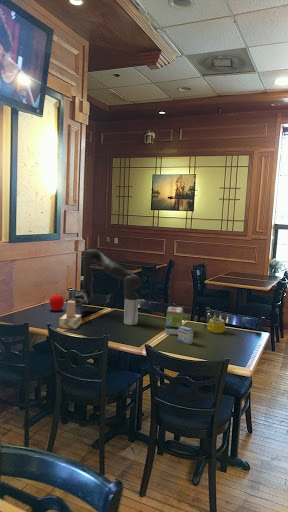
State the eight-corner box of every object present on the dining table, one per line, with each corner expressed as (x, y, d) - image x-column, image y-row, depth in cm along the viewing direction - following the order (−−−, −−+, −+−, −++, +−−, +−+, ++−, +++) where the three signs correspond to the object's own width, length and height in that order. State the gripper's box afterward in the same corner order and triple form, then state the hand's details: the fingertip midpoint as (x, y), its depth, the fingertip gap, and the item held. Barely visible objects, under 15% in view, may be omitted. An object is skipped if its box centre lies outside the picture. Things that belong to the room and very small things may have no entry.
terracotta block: (75, 315, 243) (75, 301, 242) (73, 317, 238) (73, 302, 237) (68, 315, 243) (68, 300, 242) (66, 317, 239) (66, 302, 238)
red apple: (64, 312, 277) (65, 295, 276) (50, 312, 273) (50, 295, 272) (62, 308, 287) (62, 292, 286) (48, 309, 283) (48, 292, 282)
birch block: (81, 323, 247) (81, 314, 247) (75, 328, 234) (76, 319, 234) (65, 322, 248) (65, 313, 248) (59, 327, 235) (59, 318, 235)
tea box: (180, 335, 230) (182, 312, 229) (164, 333, 232) (166, 310, 230) (182, 328, 245) (183, 307, 244) (167, 327, 246) (168, 305, 245)
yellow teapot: (218, 328, 248) (219, 311, 247) (227, 333, 238) (229, 315, 237) (202, 330, 243) (203, 312, 242) (210, 335, 233) (212, 316, 232)
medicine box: (177, 341, 218) (178, 326, 217) (182, 339, 221) (183, 325, 220) (188, 344, 212) (188, 330, 212) (192, 343, 215) (193, 328, 215)
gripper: (70, 293, 264) (63, 297, 247) (90, 294, 262) (84, 299, 246) (70, 303, 264) (63, 308, 248) (89, 304, 263) (84, 309, 247)
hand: (74, 303), depth 247 cm, fingers open, 8 cm apart
